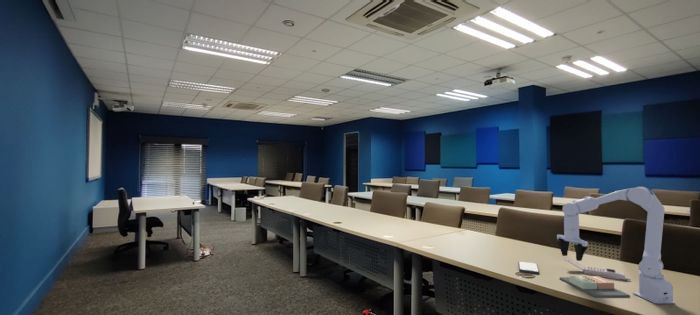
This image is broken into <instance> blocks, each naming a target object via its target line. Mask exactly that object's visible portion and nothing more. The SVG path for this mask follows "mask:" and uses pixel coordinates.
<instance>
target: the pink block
mask: <svg viewBox="0 0 700 315" xmlns="http://www.w3.org/2000/svg"><path fill="white" fill-rule="evenodd" d="M583 277H585V278H587V279H589V280H592V281H594V282H596V283H597V289H614V288H615V282H613V281H611V280H608V279H607V278H605V277H601V276H595V275H587V276H586V275H584V276H583Z"/></svg>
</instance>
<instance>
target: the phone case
mask: <svg viewBox="0 0 700 315" xmlns="http://www.w3.org/2000/svg"><path fill="white" fill-rule="evenodd" d="M518 271H519V272H520V273H523V274H525V273H527V274H532V275H540V269H539V266H538V264H537V263H534V262H526V261H518Z"/></svg>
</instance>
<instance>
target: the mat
mask: <svg viewBox="0 0 700 315" xmlns="http://www.w3.org/2000/svg"><path fill="white" fill-rule="evenodd" d="M559 280H560V281H562V282H564V283H566V284H568V285H570V286H572V287H574V288H575V289H577V290H580V291H582V292H583V291H584V293H586V294H588V295H590V296H591V297H593V298H630V297H631V296H630V294H628V293H626V292H624V291H622V290H619V289H617V288H615V287H614V289H582V288H580V287H578V286H576V285H574V284H572V283H570V282H569V277H568V276H566V277H565V276H564V277H563V276H559Z"/></svg>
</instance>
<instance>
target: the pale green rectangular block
mask: <svg viewBox="0 0 700 315" xmlns="http://www.w3.org/2000/svg"><path fill="white" fill-rule="evenodd" d="M569 282H570V283H572V284H574V285H576V286H578V287H580V288H582V289H597V283H596V282H594V281H592V280H589V279H587V278H585V277H583V276H582V275H580V276H579V275H574V276H569Z"/></svg>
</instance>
